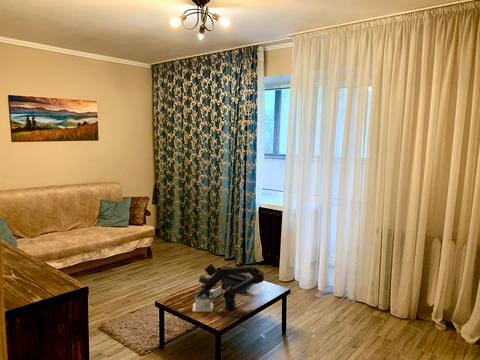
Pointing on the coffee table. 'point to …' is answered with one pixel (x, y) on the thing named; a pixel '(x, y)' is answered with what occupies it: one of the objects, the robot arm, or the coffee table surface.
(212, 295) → the toy car
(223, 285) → the game console
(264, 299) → the coffee table surface
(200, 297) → the strap
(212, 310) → the board
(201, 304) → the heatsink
